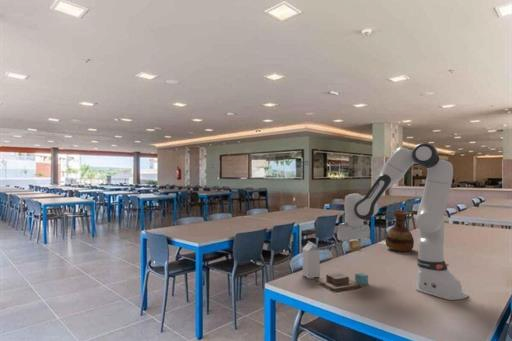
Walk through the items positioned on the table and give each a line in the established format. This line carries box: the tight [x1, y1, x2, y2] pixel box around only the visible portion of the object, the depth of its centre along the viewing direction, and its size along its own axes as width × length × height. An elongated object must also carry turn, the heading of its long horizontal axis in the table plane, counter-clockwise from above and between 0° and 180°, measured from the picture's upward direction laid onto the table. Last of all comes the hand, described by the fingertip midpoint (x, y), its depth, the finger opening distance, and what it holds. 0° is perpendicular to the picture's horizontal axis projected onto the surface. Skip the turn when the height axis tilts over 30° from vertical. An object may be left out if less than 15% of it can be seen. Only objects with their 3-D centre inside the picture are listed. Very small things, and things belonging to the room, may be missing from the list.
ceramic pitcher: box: [385, 210, 415, 252], centre depth 242 cm, size 20×20×30 cm
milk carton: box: [302, 240, 321, 279], centre depth 176 cm, size 7×7×19 cm
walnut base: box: [315, 272, 362, 292], centre depth 162 cm, size 16×16×4 cm
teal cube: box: [354, 272, 369, 286], centre depth 164 cm, size 4×4×4 cm
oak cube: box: [347, 239, 362, 252], centre depth 176 cm, size 5×5×5 cm
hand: (354, 247), depth 176 cm, fingers closed on oak cube, 5 cm apart
